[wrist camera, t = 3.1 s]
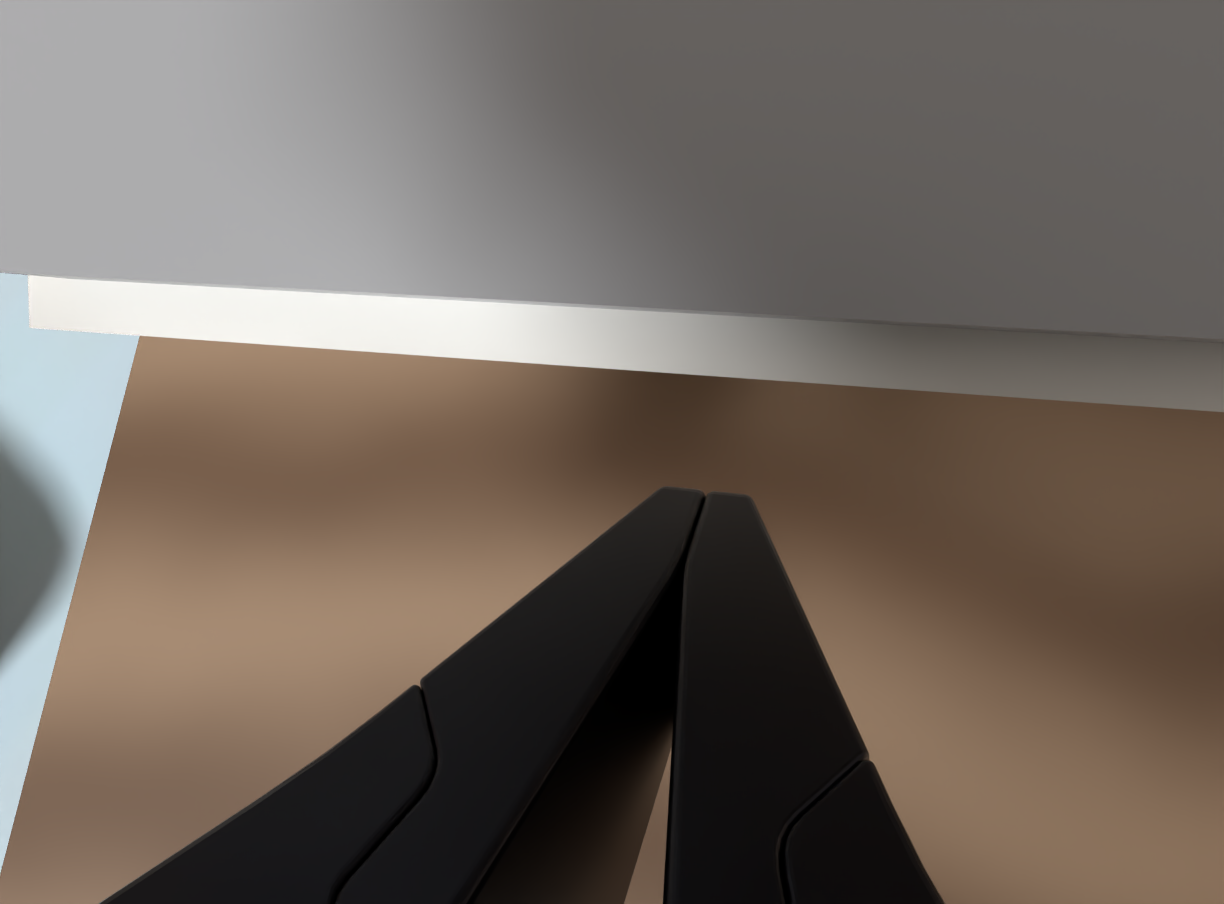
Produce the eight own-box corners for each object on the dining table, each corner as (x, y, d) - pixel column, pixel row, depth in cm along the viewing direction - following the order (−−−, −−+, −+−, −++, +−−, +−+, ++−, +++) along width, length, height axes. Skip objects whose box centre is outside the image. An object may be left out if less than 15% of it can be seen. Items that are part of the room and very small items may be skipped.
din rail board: (1612, 1288, 12) (1952, 1546, 8) (38, 911, 17) (-146, 975, 14) (1507, 124, 16) (1714, -27, 12) (236, 114, 21) (130, 7, 18)
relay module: (958, 366, 14) (1490, 435, 3) (553, 340, 16) (-52, 325, 5) (999, 2, 14) (1895, -1583, 2) (570, 11, 15) (-106, -956, 4)
